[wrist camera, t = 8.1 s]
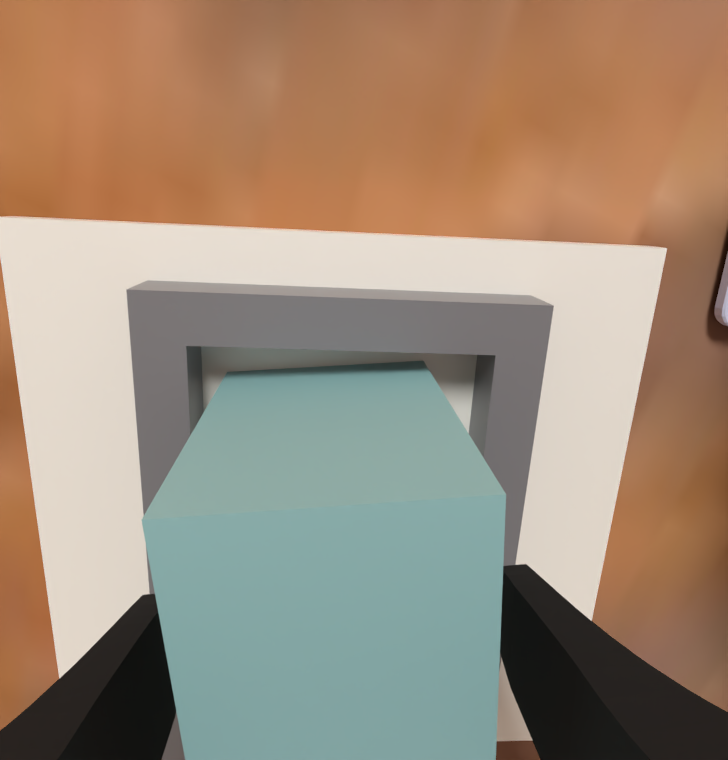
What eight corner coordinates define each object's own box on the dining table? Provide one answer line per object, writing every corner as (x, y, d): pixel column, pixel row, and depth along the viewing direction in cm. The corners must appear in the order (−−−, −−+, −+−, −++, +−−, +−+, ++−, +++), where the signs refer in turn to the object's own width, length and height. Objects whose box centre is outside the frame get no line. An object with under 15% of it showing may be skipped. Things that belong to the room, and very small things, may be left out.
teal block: (425, 644, 17) (489, 922, 11) (261, 657, 17) (220, 951, 10) (423, 360, 15) (506, 494, 8) (227, 372, 14) (141, 519, 8)
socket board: (649, 245, 15) (705, 253, 13) (557, 718, 20) (587, 783, 17) (12, 216, 14) (-47, 218, 11) (80, 728, 18) (47, 799, 16)
